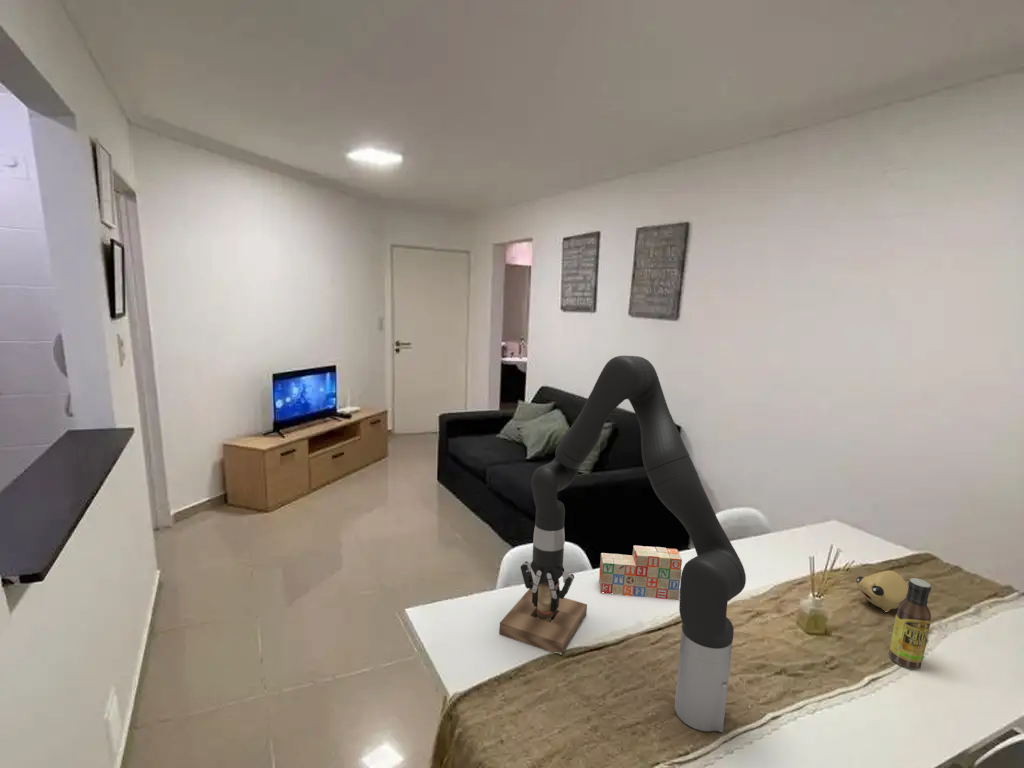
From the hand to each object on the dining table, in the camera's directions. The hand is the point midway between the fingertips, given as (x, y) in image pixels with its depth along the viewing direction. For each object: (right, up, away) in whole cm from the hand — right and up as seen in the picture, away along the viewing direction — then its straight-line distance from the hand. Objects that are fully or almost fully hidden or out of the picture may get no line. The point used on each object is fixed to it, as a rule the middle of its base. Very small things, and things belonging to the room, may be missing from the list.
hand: (545, 607), depth 129 cm
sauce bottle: (+83, -9, -8) cm, 84 cm away
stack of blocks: (+27, -3, +18) cm, 33 cm away
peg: (0, -4, +1) cm, 4 cm away
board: (0, -4, +1) cm, 5 cm away
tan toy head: (+93, -6, +14) cm, 94 cm away
